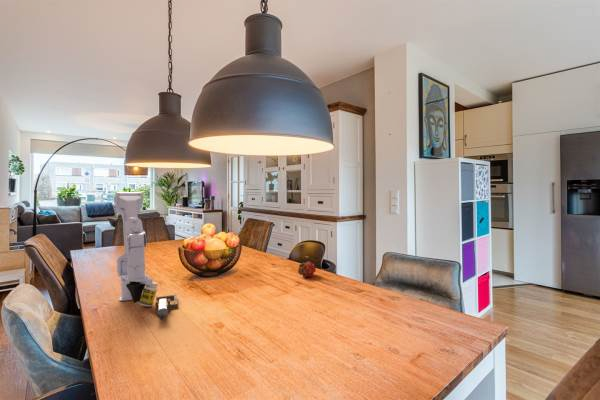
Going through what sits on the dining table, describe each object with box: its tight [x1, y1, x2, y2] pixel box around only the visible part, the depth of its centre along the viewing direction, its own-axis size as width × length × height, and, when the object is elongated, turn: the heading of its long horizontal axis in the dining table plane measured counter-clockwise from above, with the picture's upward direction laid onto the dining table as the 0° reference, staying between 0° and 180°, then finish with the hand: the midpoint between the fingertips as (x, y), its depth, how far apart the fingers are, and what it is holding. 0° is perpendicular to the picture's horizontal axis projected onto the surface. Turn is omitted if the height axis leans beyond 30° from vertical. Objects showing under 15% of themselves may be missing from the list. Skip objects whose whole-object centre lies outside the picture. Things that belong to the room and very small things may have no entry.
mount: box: [154, 294, 179, 315], centre depth 116 cm, size 14×8×4 cm, turn 24°
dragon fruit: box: [297, 261, 317, 278], centre depth 157 cm, size 8×8×12 cm
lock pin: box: [156, 298, 169, 320], centre depth 106 cm, size 13×3×3 cm, turn 24°
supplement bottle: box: [138, 281, 159, 307], centre depth 116 cm, size 5×5×8 cm
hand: (136, 301), depth 113 cm, fingers closed
